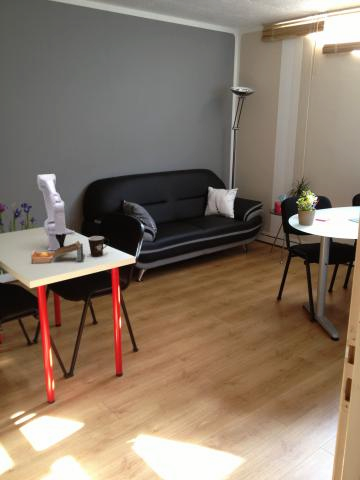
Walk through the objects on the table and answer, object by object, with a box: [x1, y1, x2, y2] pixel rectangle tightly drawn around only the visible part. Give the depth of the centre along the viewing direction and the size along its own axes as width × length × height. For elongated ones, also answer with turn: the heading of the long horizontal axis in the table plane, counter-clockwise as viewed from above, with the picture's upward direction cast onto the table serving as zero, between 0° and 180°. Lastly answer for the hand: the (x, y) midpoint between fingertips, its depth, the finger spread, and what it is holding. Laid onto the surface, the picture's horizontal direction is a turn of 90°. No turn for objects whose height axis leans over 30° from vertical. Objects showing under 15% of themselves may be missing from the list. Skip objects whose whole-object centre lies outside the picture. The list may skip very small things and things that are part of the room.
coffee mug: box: [87, 235, 110, 258], centre depth 246 cm, size 12×9×10 cm
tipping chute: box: [52, 240, 83, 258], centre depth 242 cm, size 15×15×3 cm
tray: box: [30, 248, 55, 265], centre depth 238 cm, size 10×10×5 cm
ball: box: [40, 251, 48, 258], centre depth 238 cm, size 4×4×4 cm
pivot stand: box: [75, 243, 86, 263], centre depth 240 cm, size 11×4×7 cm, turn 6°
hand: (61, 247), depth 246 cm, fingers closed
